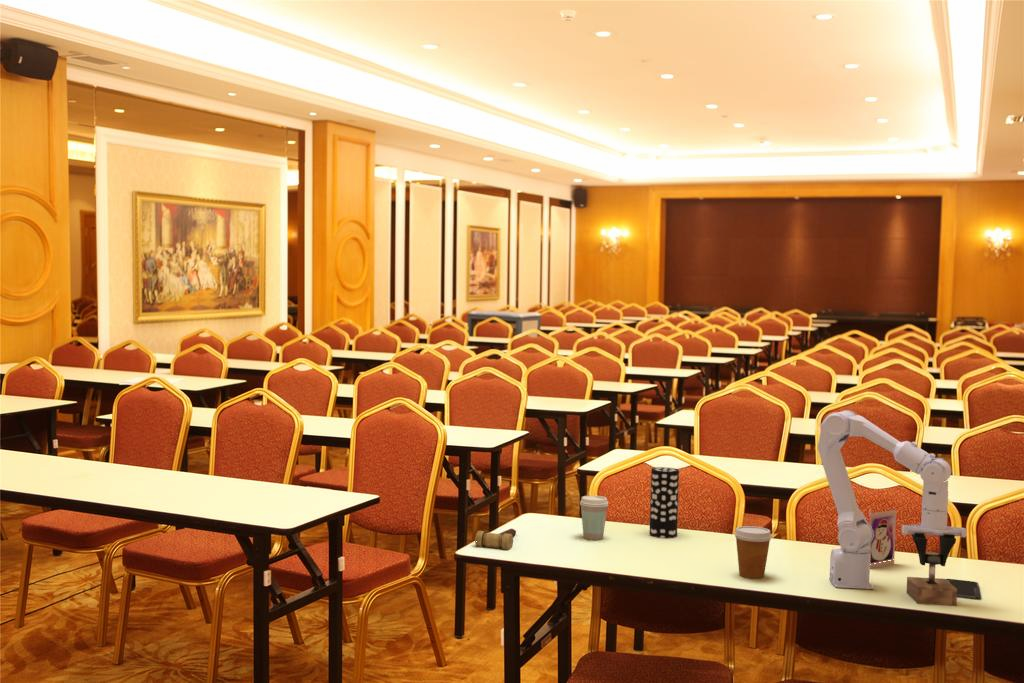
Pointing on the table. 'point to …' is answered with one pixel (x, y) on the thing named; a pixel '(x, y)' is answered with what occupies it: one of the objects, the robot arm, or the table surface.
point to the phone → (966, 589)
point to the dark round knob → (932, 564)
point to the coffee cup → (593, 516)
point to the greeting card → (882, 538)
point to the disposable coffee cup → (752, 550)
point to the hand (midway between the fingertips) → (932, 564)
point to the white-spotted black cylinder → (664, 502)
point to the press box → (931, 591)
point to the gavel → (495, 539)
